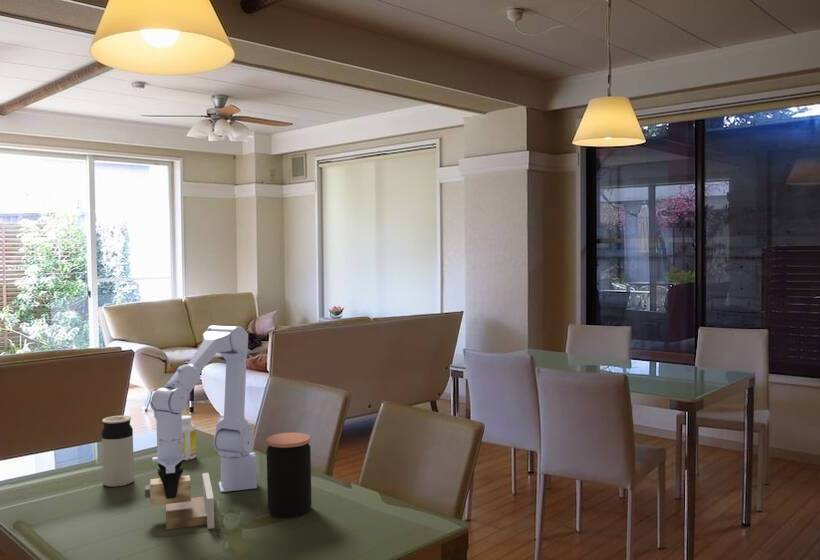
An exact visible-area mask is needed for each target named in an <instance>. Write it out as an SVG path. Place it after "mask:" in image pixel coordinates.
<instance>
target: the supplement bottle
mask: <svg viewBox="0 0 820 560" xmlns="http://www.w3.org/2000/svg"><path fill="white" fill-rule="evenodd" d="M196 439H197V438H196V425H194V424H193V423H192V416H191V415H182V453H183V457H184V458H183V460H185V461H189V459H191V460H193V459H195V458H196V457H197V456H196V455H197V443H196V442H197V440H196Z"/></svg>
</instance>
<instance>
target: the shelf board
mask: <svg viewBox="0 0 820 560" xmlns="http://www.w3.org/2000/svg"><path fill="white" fill-rule="evenodd" d="M209 473H210V472H203V473H201V475H202V476H201V477H202V497H204V502H205V508H206V514H207V524H206V526H207V530H210V529H211V530H212V529H215V498H214V492H213V488H212V483H211V479H210V474H209Z"/></svg>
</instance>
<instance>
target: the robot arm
mask: <svg viewBox="0 0 820 560" xmlns="http://www.w3.org/2000/svg"><path fill="white" fill-rule="evenodd" d="M248 346H249V333H248V332H247V331H246V330H245V328H244V327H243V326H240V325H238V326H231V325H230V326H229V325H226V326H225V325H216V324H212V325H209V326H208V328H207V329H206V330H205V332H204V333H203V334H202V342H201V344H200V346H199V347H198V348H197V350H196V352H195V353H194V354H193V356H192V357H191V359H190V360H189V362H188V363H187V364H182V365H179V366H178V368H176V371H175V372H174V373H173V375H172V376H171V378H170V379H169V380H168V381H167V382H166V384H165V385H164V386H163V387H159V388H158V389H156V390H155V391H154V392H153V394H152V396H151V400H150V401H149V404H150V405H149V406H150V407H151V408H150V409H152V411H153V417H154V419H155V420H156V444H157V445H156V447H157V448H156V452H157V456H153V457H152V458H151V459H152V460H151V461H152V462H153V463H157V465H158V468H157V474H158V476H159V477H160V478H161V480H162V483H163V486H164V491H165V496H166V499H171V498H176V494H177V488H178V482H179V479H180V476H182V474H183V471H184V468H183V467H182V465H183V461H182V460H183V458H184V457H183V453H182V416H183V414H182V412H183V411H184V410H185V409H186V407H187V404H188V399H189V397H190V393H191V392H192V390H193V389H194V387H196V385H197V384H198V383H199V381H200V379H201V374H200V373H201V372H202V370H203V369H204V368H205V367H206V366H207V364H208V363H209V362H210V361H211V360H212V359H213V358H214V357H215V356H216V355H217V354H219V355H221V356H222V358H223V359H224V360H225V380H224V381H225V382H224V384H225V386H224V407H223V409H224V410H223V419H221V420H220V421H219V422H218V423H217V424H216V428H215V429H216V430H215V433H214V436H213V441H212V443H213V447H214V449H215V450H216V451H217V455H219V456H220V481H218V486H219V490H220V493H227V492H233V491H234V492H235V491H244V490H252V489H253V490H254V489H257V488H258V473H257V456H256V455H257V454H256V452H253V451H252V450H253V448H254V446H255V436H254V431H253V428H254V427H253V425H252V423H251V422H249V421H248V419H246V418H245V410H246V409H245V405H246V404H245V403H246V400H245V399H246V380H247V379H246V378H247V357H248V350H249V347H248Z"/></svg>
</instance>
